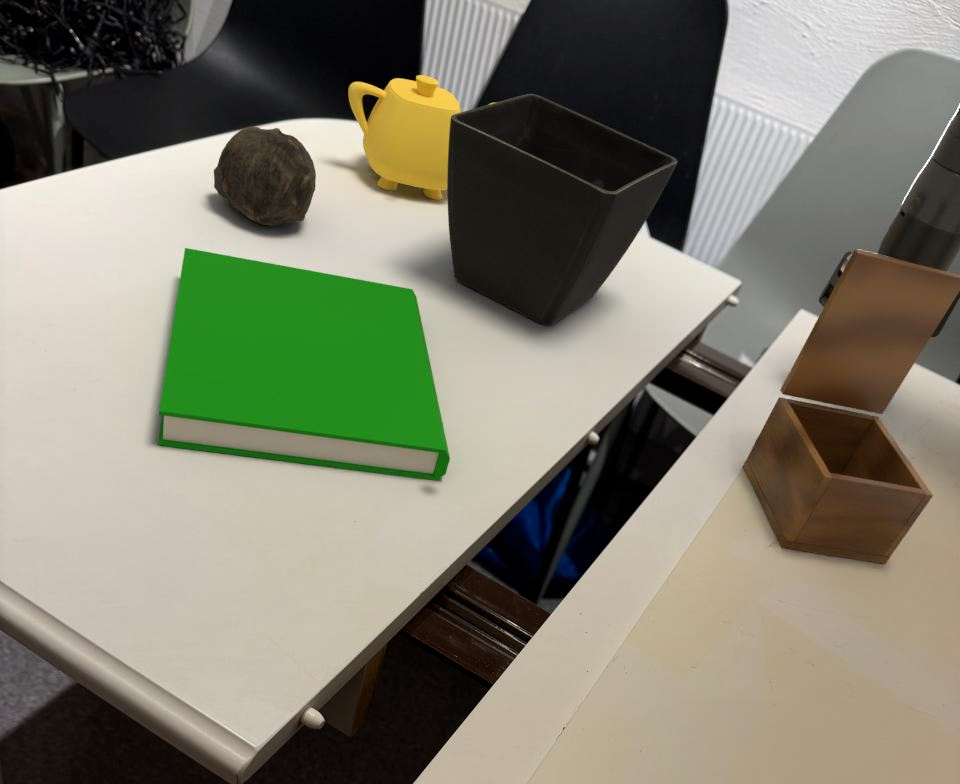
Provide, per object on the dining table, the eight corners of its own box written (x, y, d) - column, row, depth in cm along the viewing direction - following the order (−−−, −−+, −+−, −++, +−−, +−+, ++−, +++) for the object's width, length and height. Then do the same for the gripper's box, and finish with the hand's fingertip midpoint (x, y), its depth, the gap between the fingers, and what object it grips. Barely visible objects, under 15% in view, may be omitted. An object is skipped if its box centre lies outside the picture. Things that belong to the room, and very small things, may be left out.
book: (157, 444, 74) (159, 411, 72) (183, 278, 93) (185, 247, 91) (443, 481, 80) (452, 450, 78) (411, 317, 99) (417, 290, 97)
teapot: (494, 218, 125) (521, 116, 117) (340, 187, 119) (356, 77, 111) (478, 178, 134) (502, 81, 126) (334, 148, 129) (349, 43, 120)
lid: (967, 279, 82) (939, 250, 86) (858, 253, 80) (835, 224, 84) (882, 414, 91) (861, 383, 95) (782, 394, 89) (764, 363, 93)
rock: (228, 175, 111) (244, 88, 104) (319, 220, 112) (341, 137, 105) (190, 211, 104) (204, 121, 97) (287, 258, 106) (308, 173, 98)
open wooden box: (885, 564, 88) (933, 495, 83) (782, 547, 86) (824, 476, 81) (837, 482, 97) (878, 416, 92) (742, 465, 95) (778, 396, 90)
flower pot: (559, 351, 103) (614, 190, 91) (412, 275, 106) (447, 112, 95) (626, 304, 116) (681, 159, 105) (493, 238, 120) (532, 92, 109)
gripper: (980, 215, 103) (897, 352, 114) (864, 184, 100) (790, 327, 111) (1013, 245, 98) (923, 385, 109) (892, 213, 95) (811, 361, 106)
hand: (856, 356), depth 110 cm, fingers open, 8 cm apart
